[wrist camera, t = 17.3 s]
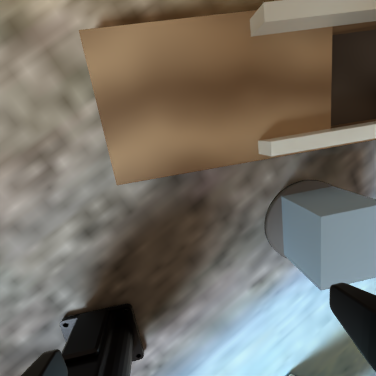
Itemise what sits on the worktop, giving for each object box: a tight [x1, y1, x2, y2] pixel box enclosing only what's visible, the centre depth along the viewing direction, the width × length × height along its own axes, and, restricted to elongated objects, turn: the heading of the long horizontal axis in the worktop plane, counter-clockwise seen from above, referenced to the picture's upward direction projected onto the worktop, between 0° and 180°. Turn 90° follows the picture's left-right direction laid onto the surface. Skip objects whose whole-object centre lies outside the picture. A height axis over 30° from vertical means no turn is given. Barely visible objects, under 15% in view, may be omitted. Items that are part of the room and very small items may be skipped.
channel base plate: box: [79, 10, 376, 185], centre depth 17 cm, size 10×25×2 cm, turn 99°
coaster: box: [265, 180, 332, 258], centre depth 21 cm, size 8×8×1 cm
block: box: [281, 186, 376, 290], centre depth 18 cm, size 5×6×5 cm
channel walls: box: [250, 0, 376, 157], centre depth 15 cm, size 9×14×2 cm, turn 99°
